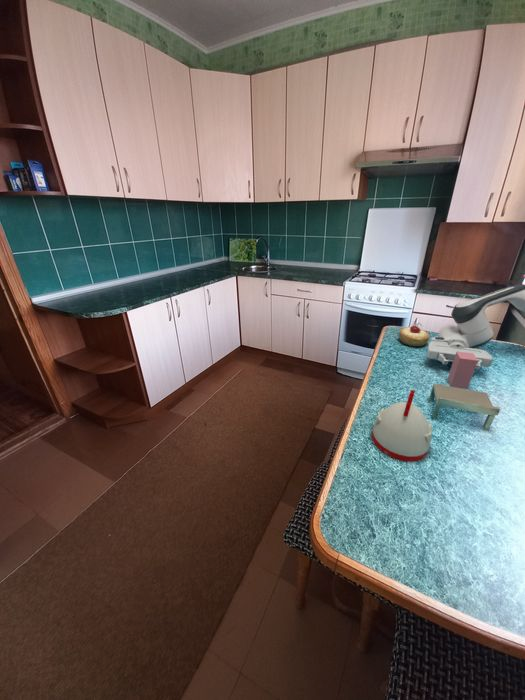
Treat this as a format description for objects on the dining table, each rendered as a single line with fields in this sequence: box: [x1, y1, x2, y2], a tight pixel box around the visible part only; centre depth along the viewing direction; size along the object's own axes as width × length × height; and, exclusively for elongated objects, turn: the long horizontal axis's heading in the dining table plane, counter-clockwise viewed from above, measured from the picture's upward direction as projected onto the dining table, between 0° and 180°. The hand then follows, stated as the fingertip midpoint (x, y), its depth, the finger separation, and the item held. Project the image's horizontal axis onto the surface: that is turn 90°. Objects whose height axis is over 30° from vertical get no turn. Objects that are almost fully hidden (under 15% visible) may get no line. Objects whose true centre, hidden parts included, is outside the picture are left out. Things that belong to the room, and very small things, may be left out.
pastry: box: [398, 322, 431, 348], centre depth 127 cm, size 12×12×9 cm
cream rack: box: [428, 383, 501, 431], centre depth 84 cm, size 14×11×8 cm
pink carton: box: [447, 352, 478, 389], centre depth 98 cm, size 5×5×11 cm
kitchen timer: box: [371, 389, 433, 462], centre depth 74 cm, size 14×14×15 cm
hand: (461, 365), depth 100 cm, fingers open, 8 cm apart
